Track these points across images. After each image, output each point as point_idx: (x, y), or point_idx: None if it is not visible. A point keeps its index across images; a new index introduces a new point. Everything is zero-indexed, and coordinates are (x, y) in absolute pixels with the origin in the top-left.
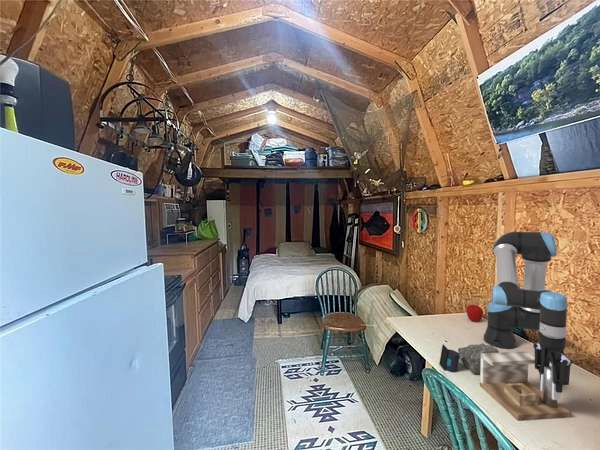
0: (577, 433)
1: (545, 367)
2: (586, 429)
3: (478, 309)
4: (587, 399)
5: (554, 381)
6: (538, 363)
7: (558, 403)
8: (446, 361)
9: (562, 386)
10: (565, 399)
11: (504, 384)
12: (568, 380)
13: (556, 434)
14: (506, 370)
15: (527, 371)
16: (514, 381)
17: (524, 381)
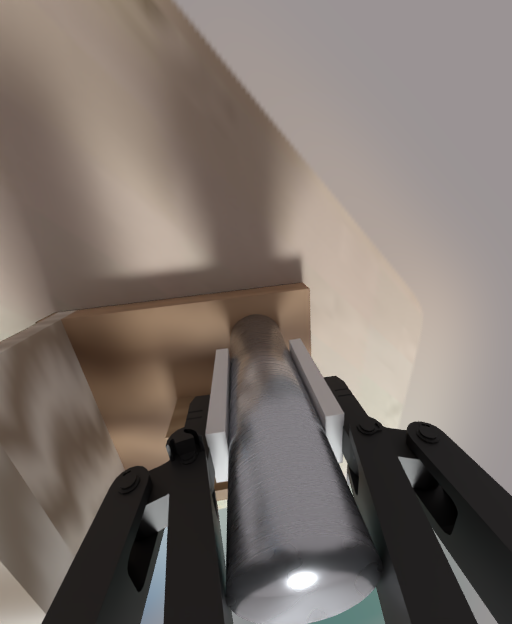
0: (378, 324)
1: (280, 620)
2: (367, 275)
3: None
4: (153, 32)
5: (348, 473)
6: (138, 596)
7: (251, 296)
8: None
9: (363, 409)
10: (173, 194)
11: (123, 434)
12: (481, 476)
13: (371, 389)
14: (62, 485)
15: (9, 354)
16: (87, 389)
17: (68, 338)
